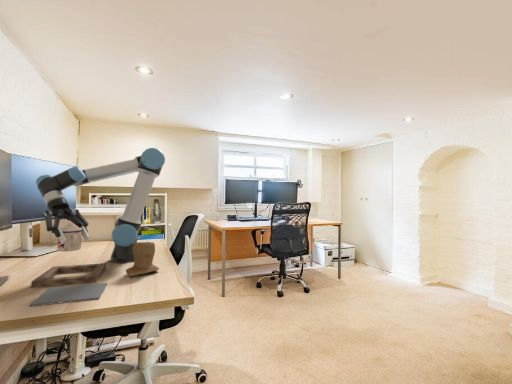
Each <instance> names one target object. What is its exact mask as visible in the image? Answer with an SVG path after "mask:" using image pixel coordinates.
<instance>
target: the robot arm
mask: <svg viewBox="0 0 512 384" xmlns="http://www.w3.org/2000/svg"><path fill="white" fill-rule="evenodd" d="M165 161H166V158H165V155H164V152H162V151H161V149H159V148H157V147H149V148H147V149H145V150H144V151H143V152H142V153H141V155H139V156H135V157H134V158H133V159H129V160H123V161H120V162H114V163H110V164H105V165H104V164H103V165H101V166H96V167H91V168H85V169H81V168H80V167H79V166H77V165H75V166H73V167H70V168H68V169H66V170H64V171H62V172H60V173H58V174H55V175H51V174H45V175H44V174H43V175H39V176H38V177H37V178H36V180H35V184H36V187H37V190H38V191H39V193H40V195H41V196H42V199H43V201H44V202H45V204H46V206H47V209H48V210H45V211H44V213H43V214H42V216H43V218H44V219H45V225H46V228H45V229H46V231H47V232H51V234H54V235H55V237H56V238H57V239H58V238H59V240H60V242H61V244H64V243H65V241H66V238H65V236H64V234H63V232H62V230H61V228H62V227H59V225H60V220H67V221H70V222H71V223H73V225H74V226H76V227H78V228H82V238H83V239H84V241H85V242H86V241H88V240H89V238H90V235H89V233H88V232H89V231H88V229H87V228H88V226H89V225H90V223H89V222H88V220H86V218H85V217H84V216H83V215H82V214H81V212H80V210H79V209H77V208H76V209H75V210H73V209H71V208H70V206H69V202H68V201H67V199H66V197H65V196H64V195H65V194H64V193H63V191H64V190H66V189H68V188H69V187H72V186H74V187H81V186H83V185H86V184H90V183H94V182H99V181H103V180H108V179H112V178H116V177H117V178H118V177H121V176H126V175H130V174H135V173H138V174H137V176H136V179H135V181H134V185H133V188H132V190H131V192H130V195H129V198H128V201H127V203H126V206H125V208H124V211H123V212H122V215H120V216H119V217H118V218H117V219H116V220H115V223H114V229H113V230H112V231H111V238H112V239H111V240H112V242H113V243H114V247H113V249H112V252H111V254H110V259H109V261H111V262H113V263H129V262H134V258H133V253H132V247H133V244H134V243H137V242H138V236H139V235H138V234H139V231H140V229H141V226H142V221H141V218H142V214H143V212H144V210H145V207H146V203H147V200H148V198H149V195H150V193H151V191H152V187H153V184H154V182H155V179H156V178H158V177H160V174H161V171H162V169H163V166H164V165H165ZM52 216H53V217H54V223H53V220H52Z"/></svg>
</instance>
